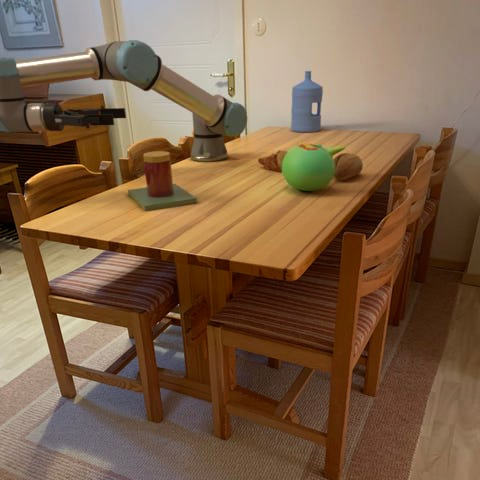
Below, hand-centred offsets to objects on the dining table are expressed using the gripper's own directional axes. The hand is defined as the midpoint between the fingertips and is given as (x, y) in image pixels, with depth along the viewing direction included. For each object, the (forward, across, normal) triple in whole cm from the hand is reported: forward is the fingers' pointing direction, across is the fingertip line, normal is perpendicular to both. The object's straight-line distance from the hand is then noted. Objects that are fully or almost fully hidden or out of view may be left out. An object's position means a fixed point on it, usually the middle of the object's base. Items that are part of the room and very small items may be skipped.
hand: (119, 116), depth 139 cm
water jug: (+64, -126, -24) cm, 143 cm away
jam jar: (+10, 0, -22) cm, 25 cm away
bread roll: (+70, -23, -24) cm, 78 cm away
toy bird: (+56, -8, -24) cm, 62 cm away
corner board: (+10, 0, -24) cm, 26 cm away
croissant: (+49, -36, -24) cm, 66 cm away
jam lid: (+10, 0, -11) cm, 15 cm away
